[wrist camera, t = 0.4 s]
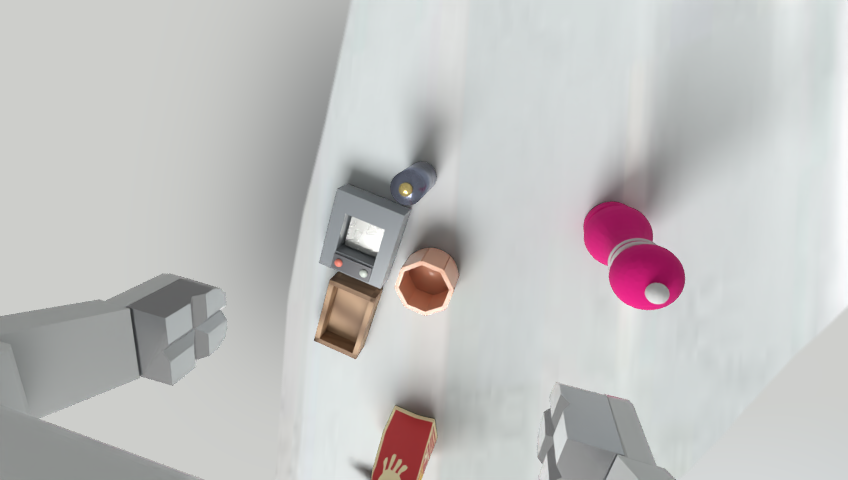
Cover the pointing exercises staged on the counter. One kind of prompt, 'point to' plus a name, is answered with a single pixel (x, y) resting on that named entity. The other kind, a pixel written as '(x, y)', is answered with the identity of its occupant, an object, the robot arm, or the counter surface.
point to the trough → (347, 314)
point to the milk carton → (404, 446)
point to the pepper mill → (633, 256)
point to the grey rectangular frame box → (373, 212)
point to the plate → (364, 237)
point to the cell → (413, 183)
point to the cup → (427, 281)
